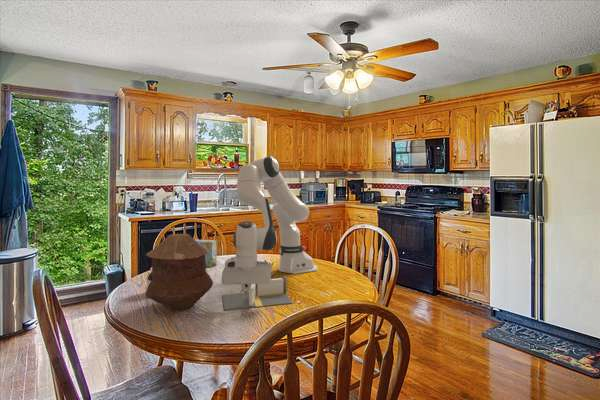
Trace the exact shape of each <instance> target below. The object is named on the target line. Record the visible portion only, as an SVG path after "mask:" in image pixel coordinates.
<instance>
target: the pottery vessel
mask: <svg viewBox="0 0 600 400" xmlns="http://www.w3.org/2000/svg"><path fill="white" fill-rule="evenodd" d="M194 239H195V238H193V237H192V235H190V234H188V233H176V234H175V233H173V234H169V235H167V236H166V237H165V238H164V239H163V240H162V241H160V242H159V244H158V245H157V246H156V247H154V248H153V249H152V250H150V251H149V252H147V253H146V254H145V256H146V257H149V258H151V268H152V281H151V282H150V284H149V285H148V288H147V287H146V296H147V298H148V299H150V300H151V301H154V302H155V303H157V304H160V305H162V306H165V307H168V308H170V310H171V311H174V312H185V311H188V310H190V309H192V308H194V307H195V305H196V304H197V303H198V302H199V301H200V300H201V299H202V298H203V297H204V296H205V295H206V294H207V293H208V292H210V290H211V289H212V287H213V284H214V281H213V279H212V277H211V276H210V275H209V273H208V272H207V269H206V268H207V267H206V262H205V254H207V253H208V251H207V250H206V249H205V248H203V247H202V246H201V245H199V244H198V243H197V242H196V241H195V240H194Z"/></svg>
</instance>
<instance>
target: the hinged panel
mask: <svg viewBox="0 0 600 400" xmlns="http://www.w3.org/2000/svg"><path fill="white" fill-rule="evenodd" d="M255 296H256V284H251V288H250V289H249V306H252V305H253V302H254V299H255Z"/></svg>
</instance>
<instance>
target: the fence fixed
mask: <svg viewBox="0 0 600 400" xmlns="http://www.w3.org/2000/svg"><path fill="white" fill-rule="evenodd" d="M282 292H283V293H286V294H287V276H285V275H283V276H282V277H280V278H271V282H270V283H269V284H256V296H257V294H258V295H261V294H271V293H282Z"/></svg>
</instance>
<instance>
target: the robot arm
mask: <svg viewBox="0 0 600 400" xmlns="http://www.w3.org/2000/svg"><path fill="white" fill-rule="evenodd" d="M280 167H281V166H280V163H279V162H278V160H277V159H276V158H275V157H274V156H267V157H266V156H265V157H264V158H259V159H257V160H254V161H253V162H252V161H251V162H250V163H248V164H247V163H246V164H244V165H242V166H241V167H240V168H239V169H238V174H237V181H236V194H237V197H238V200H239V201H240V202H241V203H242V204H244V205H246V206H249V207H252V208H255V209H257V210H258V211H260V212H261V213H262V218H263V224H264V226H263V227H257V225H256V223H255V222H252V221H241V222H239V223H238V224H237V227H236V231H235V232H234V233H233V246H234V247H235V248H236V252H235V256H233V257H230V258H227V259H226V260H225V261H224V267H223V270H222V274H221V284H222V285H240V287H241V289H242V290H243V293H244V295H248V294H249V289H250V288H251V284H269V283H270V282H271V279H272V275H271V271H272V268H273V267H272V263H271V262H270V261H268V260H264V261H262V260H260V261H259V260H258V251H257V250H262V251H271V250H273V249H274V248H275V247H276V246H277V244H278V236H277V231H276V229H275V225H274V220H273V216H274V217H275V218H276V221H277V223H278V227H279V233H280V245H279V255H280V257H279V263H278V268H277V270H278V272H282V273H288V274H292V275H295V274H304V273H309V272H316V271H318V266H317V265H315V263H314V260H313V258H312V256H310V255H309V254H308V253H307V252H305V251H306V249H307V247H306V246H305V245H302V244H301V230H300V229H299V227H298V226H297V225H296V223H299V222H301V223H302V222H304V221H306V220H307V219H308V218H309V215H310V208H309V207H308V205H307V204H306V203H304V202H302V201H301V200H300V199H299V198H298V197H297V195H295V193H294V192H293V191H292V190H291V188H290V187H289V185H288V183H287V182H286V180H285V178H284V176H283V174H282V172H280ZM261 183H263V186H264V187H265V189H266V191H267V193H268V194H269V196H270V198H271V200H273V201H274V202H275V203H274V204H273V205H272V209H271V206H270V201H269V198H268V197H267V196H268V195H265V194H264V193H263V191H262V188H261ZM246 285H247V288H246Z"/></svg>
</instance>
